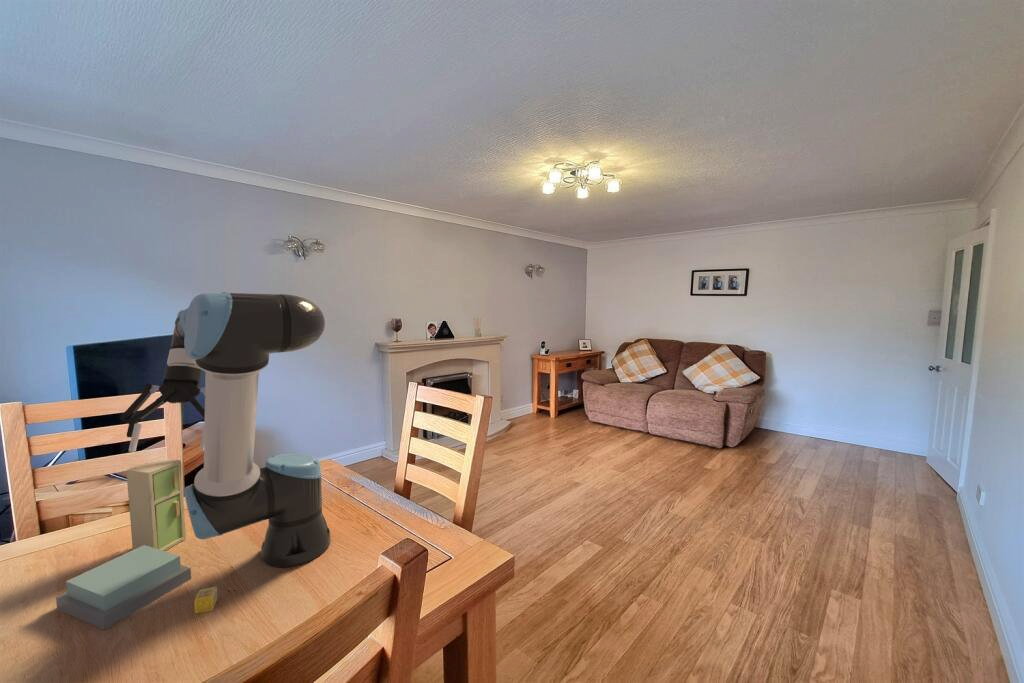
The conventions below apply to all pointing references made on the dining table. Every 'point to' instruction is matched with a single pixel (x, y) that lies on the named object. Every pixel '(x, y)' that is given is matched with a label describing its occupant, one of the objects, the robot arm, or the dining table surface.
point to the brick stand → (122, 586)
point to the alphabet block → (205, 599)
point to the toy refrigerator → (156, 504)
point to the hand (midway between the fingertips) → (168, 451)
